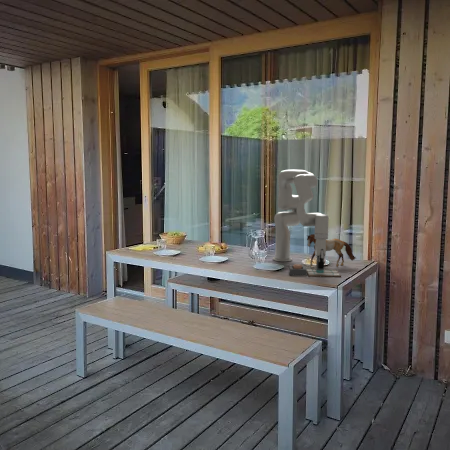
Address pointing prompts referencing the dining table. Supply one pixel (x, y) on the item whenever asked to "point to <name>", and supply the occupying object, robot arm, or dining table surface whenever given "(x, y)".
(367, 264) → the dining table surface
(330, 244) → the horse figurine
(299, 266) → the button
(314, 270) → the board
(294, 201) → the robot arm
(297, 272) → the button base
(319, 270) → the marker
